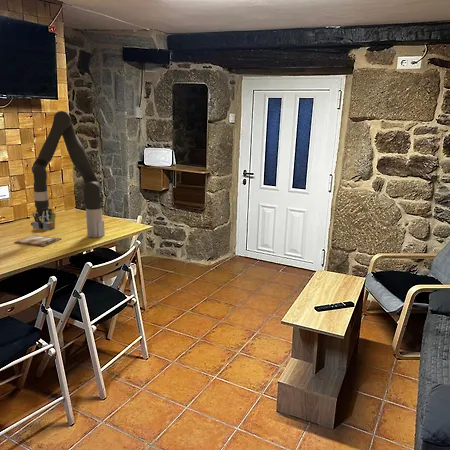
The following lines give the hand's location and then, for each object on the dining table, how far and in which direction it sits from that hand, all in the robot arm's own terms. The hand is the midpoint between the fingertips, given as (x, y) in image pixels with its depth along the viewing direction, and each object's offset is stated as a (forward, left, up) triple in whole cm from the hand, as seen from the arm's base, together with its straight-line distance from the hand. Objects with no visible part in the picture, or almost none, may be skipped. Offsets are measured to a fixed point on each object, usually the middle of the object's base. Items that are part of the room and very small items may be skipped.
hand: (43, 227), depth 246 cm
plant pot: (+15, -22, -7) cm, 28 cm away
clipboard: (+1, +5, -7) cm, 8 cm away
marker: (+1, 0, -1) cm, 1 cm away
